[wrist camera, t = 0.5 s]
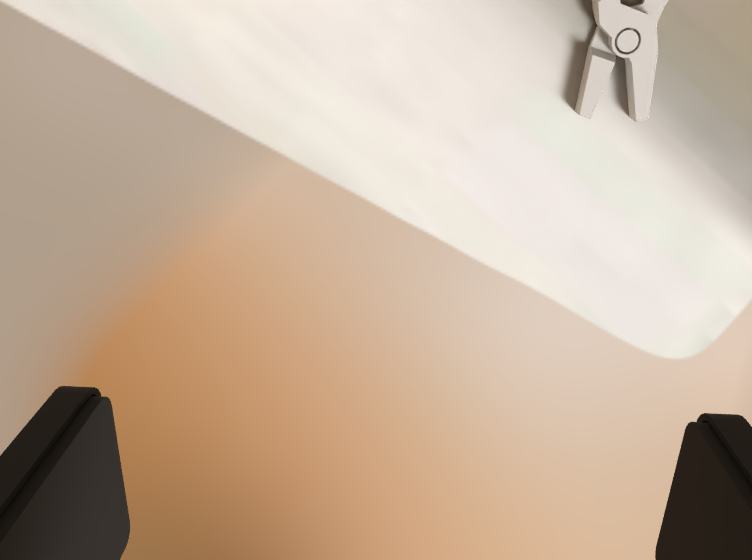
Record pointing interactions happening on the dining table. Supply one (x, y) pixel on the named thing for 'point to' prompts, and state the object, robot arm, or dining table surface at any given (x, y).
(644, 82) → the pliers
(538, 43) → the dining table surface
